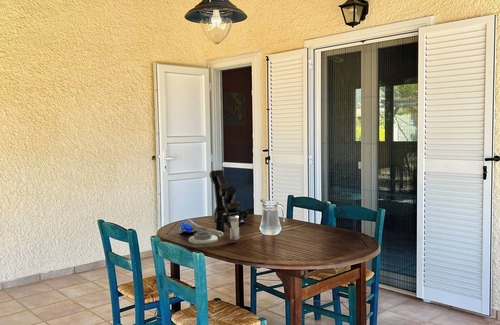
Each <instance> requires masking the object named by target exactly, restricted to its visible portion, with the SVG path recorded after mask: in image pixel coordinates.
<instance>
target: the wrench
mask: <svg viewBox="0 0 500 325" xmlns="http://www.w3.org/2000/svg"><path fill="white" fill-rule="evenodd" d="M184 224H188V225H190V226H192V232H193V233H194V232H195V231H198V232H210V233H212V235H215V236H217V237H219V238H221V237H224V232H221V231H217V230H216V229H213V228H208V227H204V226H201V225H199V224H197V223H196V222H194V221H193V220H192V219H186V220H185V221H184ZM193 233H192V234H193ZM194 234H195V233H194Z"/></svg>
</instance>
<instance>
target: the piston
mask: <svg viewBox="0 0 500 325" xmlns="http://www.w3.org/2000/svg"><path fill="white" fill-rule="evenodd" d="M228 219H229V222H230V226H231V228H229V239H230V240H239V239H240V227H239V216H238V215H232V216H230V217H228Z"/></svg>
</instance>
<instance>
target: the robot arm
mask: <svg viewBox="0 0 500 325" xmlns="http://www.w3.org/2000/svg"><path fill="white" fill-rule="evenodd" d="M209 178H210V181H211V183H212V185H213V188H214V189H213V190H214V198H215V205H216V206H215V208H214V211H213V212H214V213H213V215H212V220H213V221H212V222H213V223H215V230H217V231H221V232H223V233H224V232H226V230H227V228H226V226H227V227H228V228H229V229H230V228H231V226H230V221H229V220H230V219H229V218H230V216H232V215H238V216H239V228H241V222H242V220H244V219H247V218H248V215H249V210H248V209H240V212H239V211H238V209H239V208H241V202H240V201H239V200H237V201H236V202H235V201H234V200H235V197H236V193H237V189H235V187H233V186H232V185H230V184H228V182H227V179H226V177H225V171H224V169H216V170H211V171H210V172H209Z"/></svg>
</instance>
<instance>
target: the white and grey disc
mask: <svg viewBox="0 0 500 325" xmlns="http://www.w3.org/2000/svg"><path fill="white" fill-rule="evenodd" d="M218 237H219V236H215V235H212V233H210V232H201V231H198V232H195V233H194V234H193V235H191V236H190V237H189V238H188V242H189V243H190V244H195V245H207V244H213V243H216V242H218V240H219V238H218Z"/></svg>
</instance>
